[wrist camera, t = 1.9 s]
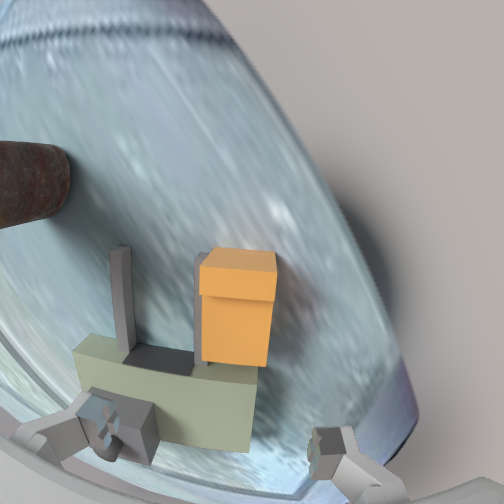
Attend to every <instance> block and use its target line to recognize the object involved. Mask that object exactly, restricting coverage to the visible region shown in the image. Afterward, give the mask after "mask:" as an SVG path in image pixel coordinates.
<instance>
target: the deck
mask: <svg viewBox="0 0 504 504" xmlns="http://www.w3.org/2000/svg"><path fill="white" fill-rule="evenodd" d="M208 255H209V253H199V254H198V256H197V257H196V258H195V266H194V352H190V351H183V350H176V349H170V348H163V347H158V346H152V345H146V344H141V343H137V338H136V329H135V318H134V306H133V291H132V271H131V247H129V246H118V247H116V248H113V249H111V250H109V258H110V276H111V290H112V301H113V311H114V320H115V328H116V335H117V339H113V338H108V337H104V336H99V335H95V334H90V335H89V336H88V337H87V338H85V339H84V340H83V341H82V342H81V343H80V344H79V345H78V346H77V347H76V348H75V349H74V350H73V351H72V353H73V357H74V361H75V365H76V369H77V373H78V377H79V380H80V384H81V387H82V390H83V391H86V392H89V393H92V394H96V395H99V396H101V397H105V398H108V399H111V400H113V401H115V403H116V409H115V411H116V412H117V413H118V415H119V420H120V423H119V428H118V430H117V432H116V434H113V435H111V439H112V441H111V443H110V445H109V446H108V448H107V450H104V449H101V448H98V447H95V446H92V445H89V447H90V448H93V450H94V452H95V453H96V454H97V455H98V456H99V457H100V458H102V459H104V460H106V461H109V462H115V461H116V459H117V457H119V458H122V459H125V460H129V461H132V462H136V463H139V464H143V465H147V466H150V465H151V463H152V460H153V458H154V455H155V452H156V450H157V447H158V445H159V442H160V440H162V441H167V442H172V443H177V444H182V445H188V446H194V447H200V448H206V449H214V450H222V451H231V452H241V453H249V448H250V441H251V432H252V424H253V416H254V408H255V399H256V391H257V377H258V366H248V365H237V364H227V363H218V362H210V361H202V295H199V279H200V265H201V264H202V263H203V261H204V260H205V259H206V257H207V256H208Z"/></svg>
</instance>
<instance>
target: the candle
mask: <svg viewBox="0 0 504 504" xmlns="http://www.w3.org/2000/svg"><path fill="white" fill-rule="evenodd" d="M69 191H70V166H69V162H68V160H67V158H66V155H65V152H64V151H63V150H62V149H61V148H59V147H58V146H55V145H50V144H41V143H30V142H15V141H0V229H3V228H7V227H11V226H15V225H19V224H24V223H28V222H32V221H36V220H41V219H45V218H49V217H51V216H53V215H55V214H56V213H57V212H58V211H59V210H60V208H61V207H62V206H63V204H64V202H65V200H66V198H67V196H68V193H69Z"/></svg>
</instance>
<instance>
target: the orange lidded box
mask: <svg viewBox="0 0 504 504" xmlns="http://www.w3.org/2000/svg"><path fill="white" fill-rule="evenodd" d="M276 282H277V265H276V258H275V252H270V251H257V250H245V249H233V248H221V247H214V249H213V250H212V251H211V252H210V254H209V255H208V256H207V257H206V259H205V260H204V261H203V263H202V264H201V265H200V279H199V295H202V361H210V362H218V363H227V364H237V365H248V366H260V367H266V362H267V354H268V345H269V337H270V328H271V319H272V310H273V302H274V301H275V292H276Z"/></svg>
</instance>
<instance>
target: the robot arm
mask: <svg viewBox="0 0 504 504" xmlns="http://www.w3.org/2000/svg"><path fill="white" fill-rule="evenodd" d="M115 409H116V403H115V401H113V400H111V399H108V398H105V397H101V396H99V395H96V394H92V393H89V392H86V391H82V392H81V393H80V394H79V395H78V396H77V398H76V399H75V400H74V401H73V403H72V404H71V405H70V406H69V407H68V409H67V410H66V411H63V410H62V411H59V412H57V413H54V414H51V415H48V416H45V417H42V418H39V419H36V420H32V421H29V422H26V423H23V424H22V425H21V426H20V427H19V428H18V429H17V430H16V432H15V433H14V434H13V435H12V436H11V437H10V438H7V437H6V436H4V435H3V434H1V433H0V504H159V503H155V502H151V501H147V500H144V499H140V498H137V497H133V496H130V495H127V494H124V493H121V492H118V491H115V490H112V489H109V488H106V487H104V486H101V485H99V484H96V483H93V482H91V481H89V480H86V479H84V478H81V477H79V476H77V475H75V474H72V473H70V472H68V471H66V470H64V468H63V466H62V465H61V463H60V462H61V461H63V460H65V459H66V458H68V457H70V456H72V455H74V454H75V453H77V452H79V451H81V450H82V449H84V448H86V447H88V446H89V445H92V446H95V447H98V448H101V449H104V450H107V448H108V446H109V445H110V443H111V441H112V439H111V435H113V434H116V432H117V430H118V428H119V423H120V420H119V415H118V413H117V412H116V411H115ZM307 457H308V461H309V462H310V463H311V464H310V466H309V473H310V480H331V481H332V482H333V483H334V485H335V486H336V487H337V488H338V489H339V490H340V491H341V492H342V493H343V494H344V495H345V496H346V497H347V498H348V499H349V500H350V501H351V502H352V503H353V504H504V485H502V484H500V483H497V482H495V481H493V480H491V479H487V478H485V477H478V478H476V479H473V480H470V481H468V482H466V483H463V484H461V485H458V486H456V487H453V488H451V489H448V490H445V491H442V492H439V493H436V494H433V495H430V496H427V497H424V498H420V499H417V500H413V501H410V500H409V497H408V495H407V492H406V489H405V487H404V484H403V482H402V480H401V479H400V478H398V477H397V476H395V475H393V474H392V473H391V472H390V471H388V470H387V469H385V468H384V467H382V466H381V465H380V464H378V463H377V462H376V461H374V460H373V459H371V458H370V457H369V456H367V455H366V454H365V453H360V451H359V448H358V444H357V441H356V438H355V435H354V432H353V429H352V427H351V426H350V425H348V426H329V427H314V428H313V431H312V438H311V439H310V440H309V443H308V449H307Z"/></svg>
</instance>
